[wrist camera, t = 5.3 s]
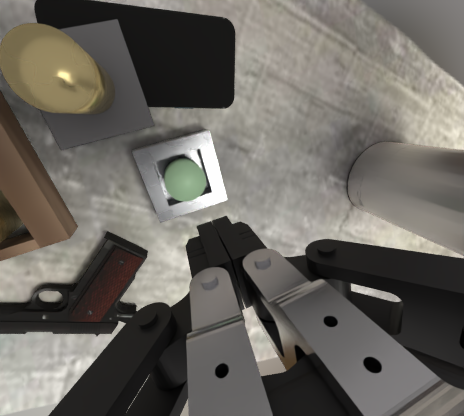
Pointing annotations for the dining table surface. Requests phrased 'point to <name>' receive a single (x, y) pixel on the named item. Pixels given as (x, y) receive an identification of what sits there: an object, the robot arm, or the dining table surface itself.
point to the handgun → (82, 297)
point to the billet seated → (7, 218)
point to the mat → (125, 82)
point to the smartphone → (163, 49)
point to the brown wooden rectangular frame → (29, 191)
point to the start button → (184, 179)
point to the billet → (54, 71)
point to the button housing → (163, 153)
